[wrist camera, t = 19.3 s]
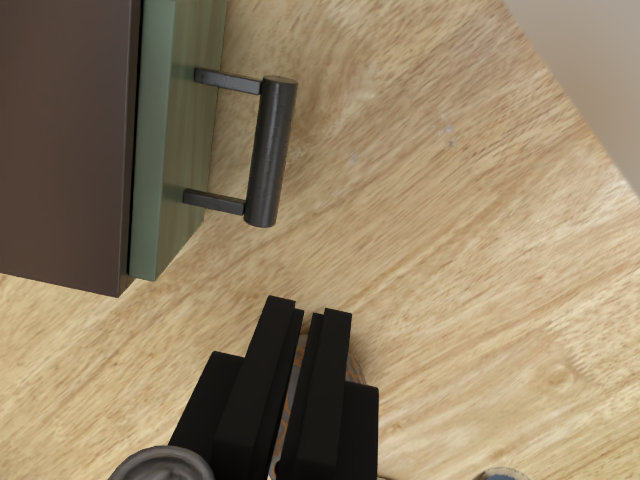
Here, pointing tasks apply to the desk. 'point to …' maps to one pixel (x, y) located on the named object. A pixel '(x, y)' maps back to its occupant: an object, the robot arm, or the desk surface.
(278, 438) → the vase
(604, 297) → the desk surface
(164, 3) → the drawer
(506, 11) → the desk surface
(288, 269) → the desk surface
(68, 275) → the cabinet
